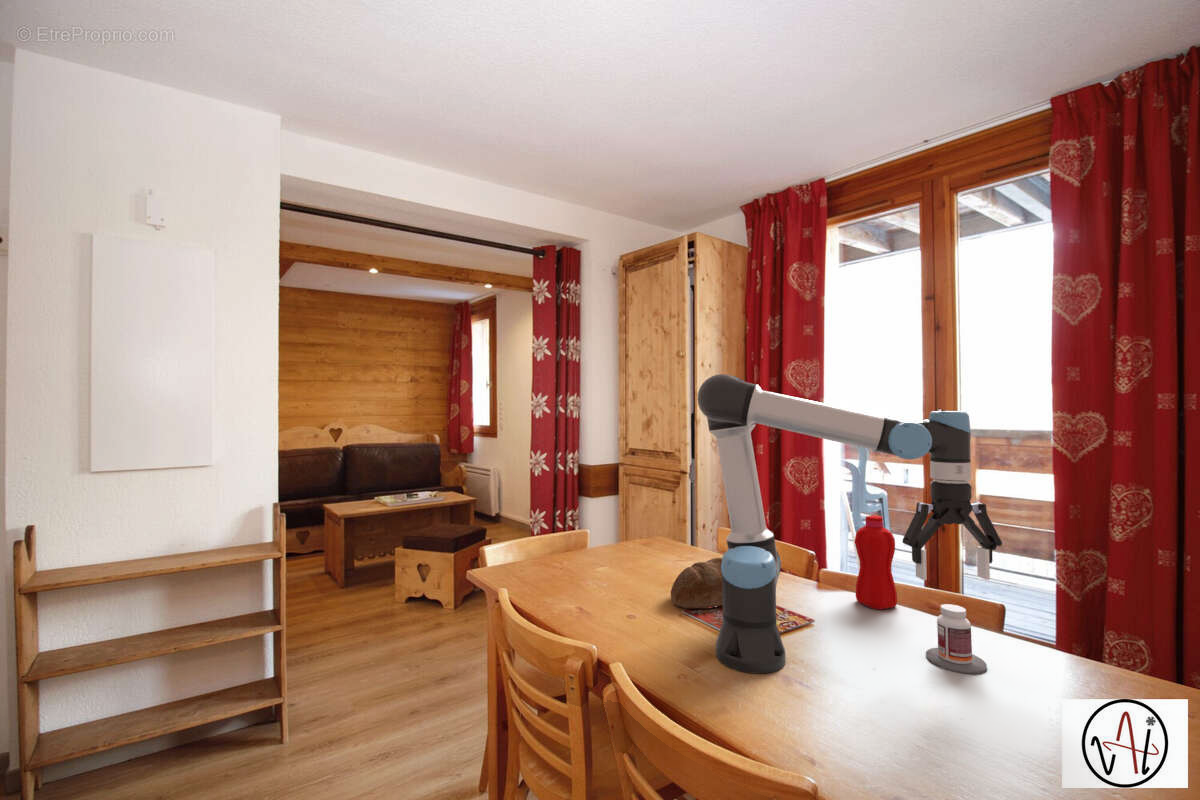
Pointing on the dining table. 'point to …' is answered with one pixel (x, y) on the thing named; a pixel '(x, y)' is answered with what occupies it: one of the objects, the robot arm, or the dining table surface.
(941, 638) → the pill bottle
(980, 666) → the coaster
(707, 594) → the bread
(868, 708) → the dining table surface
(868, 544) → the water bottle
